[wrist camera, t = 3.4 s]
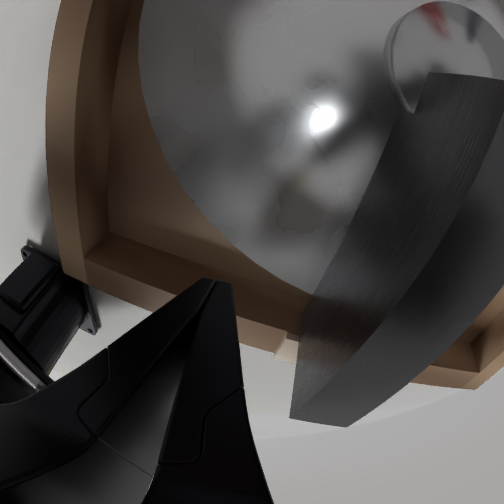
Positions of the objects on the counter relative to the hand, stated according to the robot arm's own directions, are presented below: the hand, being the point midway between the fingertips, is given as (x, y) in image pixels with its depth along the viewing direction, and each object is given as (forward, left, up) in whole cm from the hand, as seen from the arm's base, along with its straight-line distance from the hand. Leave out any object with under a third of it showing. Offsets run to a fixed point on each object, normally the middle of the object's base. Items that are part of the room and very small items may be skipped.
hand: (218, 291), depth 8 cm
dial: (+7, -4, -3) cm, 8 cm away
